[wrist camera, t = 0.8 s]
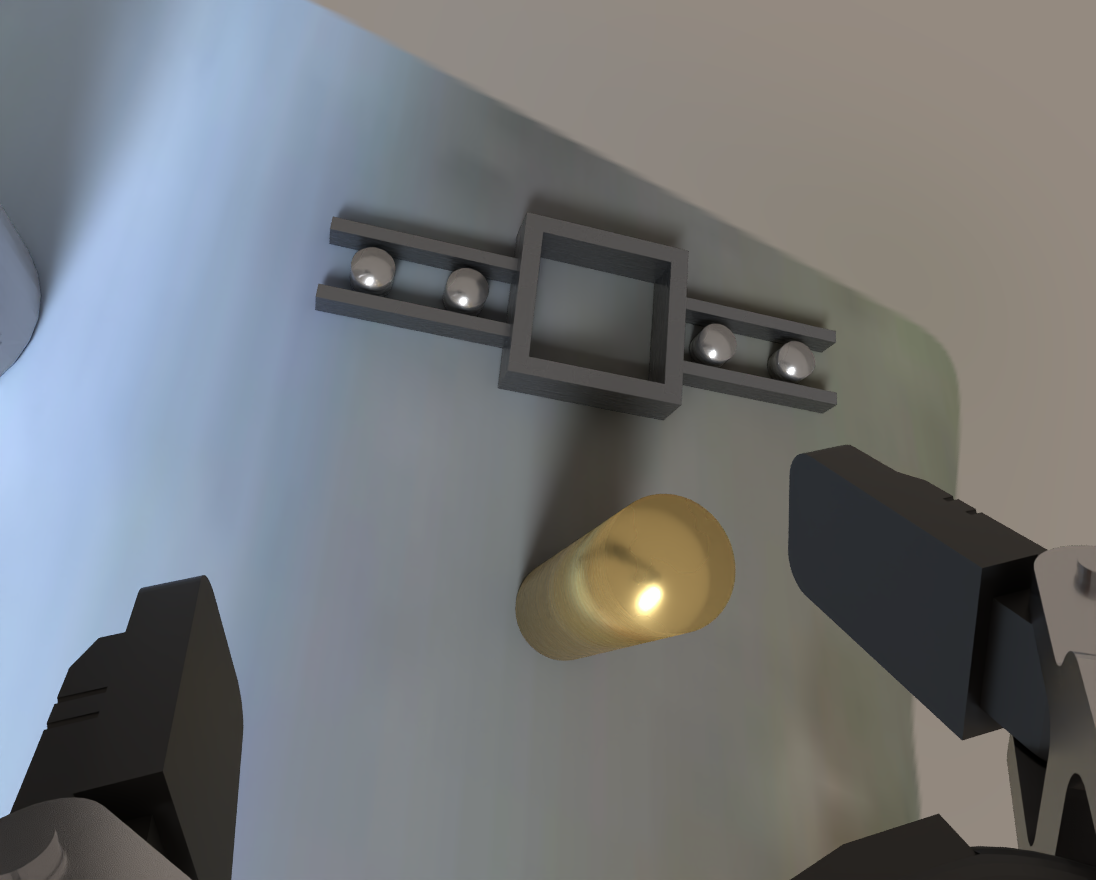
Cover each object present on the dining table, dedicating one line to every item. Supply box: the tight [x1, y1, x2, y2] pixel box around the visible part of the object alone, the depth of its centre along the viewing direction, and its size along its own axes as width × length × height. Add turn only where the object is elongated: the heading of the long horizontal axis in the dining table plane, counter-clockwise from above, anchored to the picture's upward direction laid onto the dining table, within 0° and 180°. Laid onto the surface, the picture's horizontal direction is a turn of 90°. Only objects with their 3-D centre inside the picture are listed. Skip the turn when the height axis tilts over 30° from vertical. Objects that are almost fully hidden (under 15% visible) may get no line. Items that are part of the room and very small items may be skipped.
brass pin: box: [515, 494, 735, 661], centre depth 29 cm, size 4×4×11 cm
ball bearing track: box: [315, 212, 837, 420], centre depth 38 cm, size 24×8×2 cm, turn 84°
